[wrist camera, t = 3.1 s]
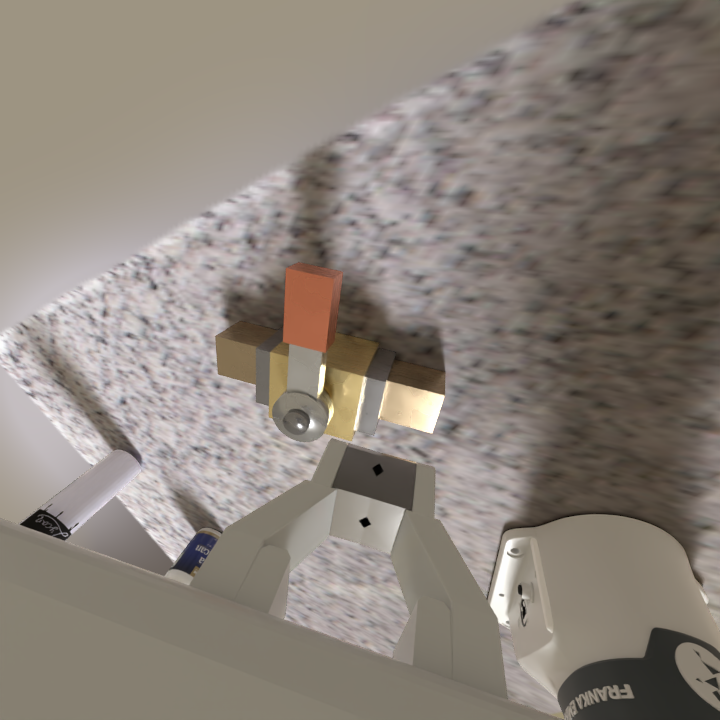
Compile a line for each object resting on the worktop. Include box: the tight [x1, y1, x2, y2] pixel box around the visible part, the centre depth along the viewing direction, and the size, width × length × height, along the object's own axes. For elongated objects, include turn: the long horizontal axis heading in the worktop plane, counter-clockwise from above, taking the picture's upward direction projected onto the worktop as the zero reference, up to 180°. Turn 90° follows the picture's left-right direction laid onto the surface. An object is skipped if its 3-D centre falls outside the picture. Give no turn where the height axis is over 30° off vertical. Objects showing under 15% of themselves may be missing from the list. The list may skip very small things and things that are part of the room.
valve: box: [215, 321, 445, 441], centre depth 28 cm, size 19×6×7 cm, turn 81°
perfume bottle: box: [19, 450, 141, 541], centre depth 37 cm, size 6×6×20 cm
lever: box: [272, 262, 343, 442], centre depth 21 cm, size 12×4×2 cm, turn 171°
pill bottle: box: [164, 528, 222, 585], centre depth 45 cm, size 5×5×10 cm
